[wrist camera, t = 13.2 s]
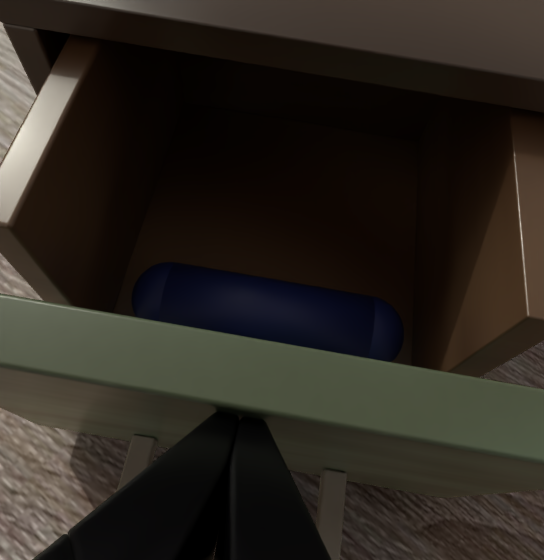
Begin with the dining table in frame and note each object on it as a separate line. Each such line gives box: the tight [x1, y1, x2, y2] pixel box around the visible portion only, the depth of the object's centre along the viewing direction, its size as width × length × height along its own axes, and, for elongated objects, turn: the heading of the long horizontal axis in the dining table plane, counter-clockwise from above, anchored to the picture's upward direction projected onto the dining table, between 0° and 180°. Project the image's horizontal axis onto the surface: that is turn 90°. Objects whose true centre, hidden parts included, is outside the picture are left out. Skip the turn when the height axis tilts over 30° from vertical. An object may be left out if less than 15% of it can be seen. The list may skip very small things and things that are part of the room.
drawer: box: [0, 34, 544, 560], centre depth 13 cm, size 18×12×8 cm
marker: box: [131, 262, 404, 362], centre depth 14 cm, size 8×2×2 cm, turn 81°
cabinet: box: [0, 0, 544, 113], centre depth 17 cm, size 15×14×10 cm
